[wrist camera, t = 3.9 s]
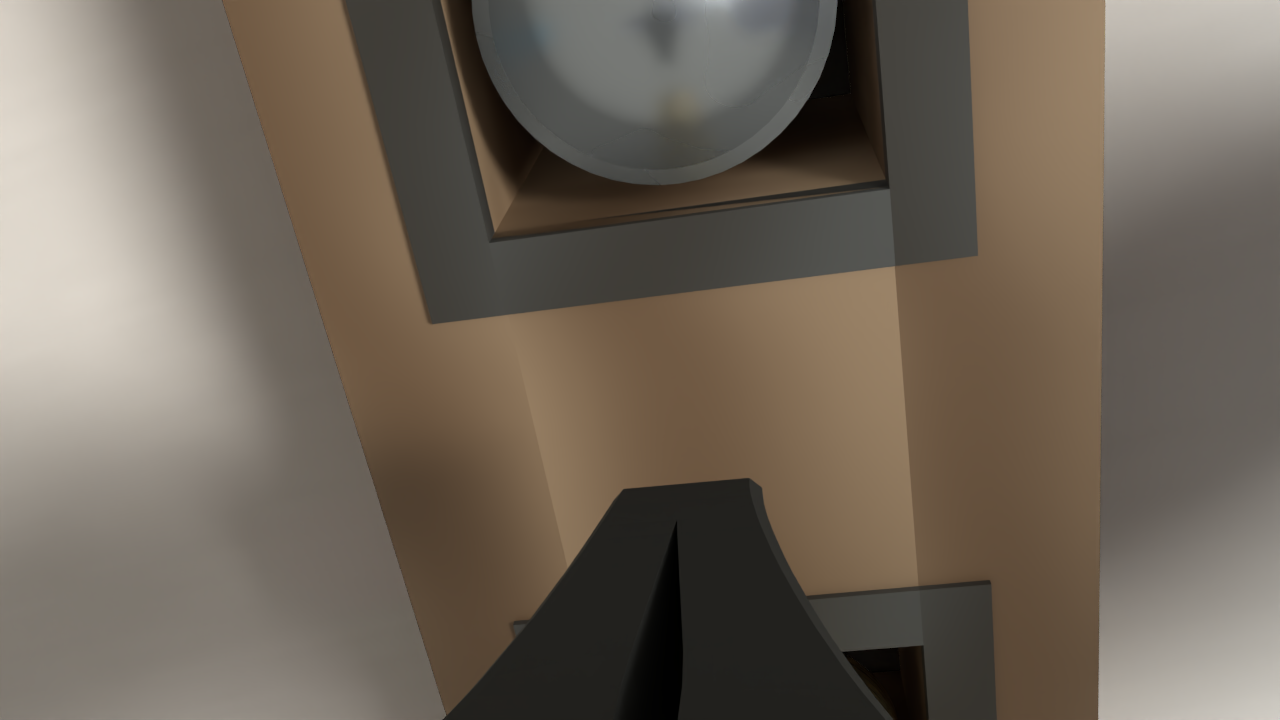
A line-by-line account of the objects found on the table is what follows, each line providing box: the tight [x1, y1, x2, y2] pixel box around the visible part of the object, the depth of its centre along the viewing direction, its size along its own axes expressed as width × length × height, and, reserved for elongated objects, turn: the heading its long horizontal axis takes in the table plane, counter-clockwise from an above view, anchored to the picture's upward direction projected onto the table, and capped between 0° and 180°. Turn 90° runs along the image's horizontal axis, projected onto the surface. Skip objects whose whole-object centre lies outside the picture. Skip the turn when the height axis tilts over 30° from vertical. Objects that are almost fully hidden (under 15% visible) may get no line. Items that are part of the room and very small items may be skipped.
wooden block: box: [222, 0, 1105, 720], centre depth 18 cm, size 10×24×5 cm, turn 9°
